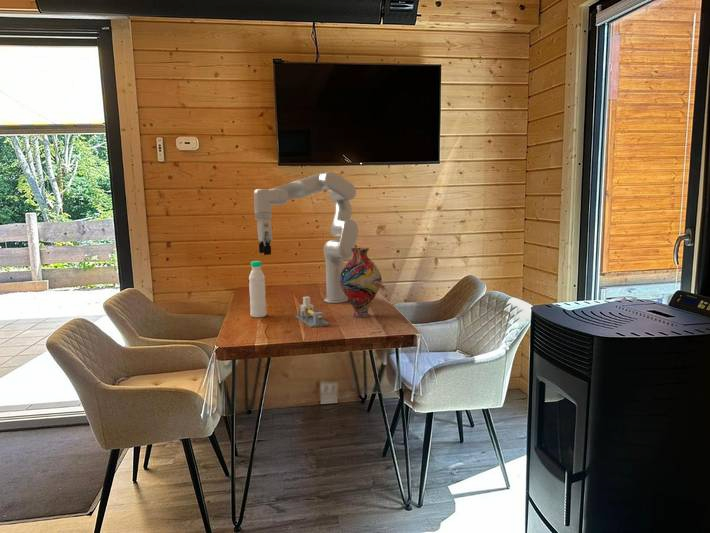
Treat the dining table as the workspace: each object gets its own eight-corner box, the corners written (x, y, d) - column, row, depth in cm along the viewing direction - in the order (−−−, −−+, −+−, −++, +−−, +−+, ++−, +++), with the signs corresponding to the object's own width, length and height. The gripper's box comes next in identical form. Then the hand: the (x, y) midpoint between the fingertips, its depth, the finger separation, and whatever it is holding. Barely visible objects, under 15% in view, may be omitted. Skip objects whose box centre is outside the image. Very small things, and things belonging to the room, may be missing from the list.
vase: (344, 321, 204) (342, 251, 200) (336, 312, 223) (335, 247, 219) (387, 318, 208) (386, 249, 204) (376, 309, 226) (375, 246, 222)
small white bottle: (300, 315, 213) (300, 297, 212) (310, 313, 214) (310, 296, 213) (303, 316, 209) (303, 298, 208) (313, 315, 211) (313, 297, 210)
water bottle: (269, 315, 219) (267, 260, 216) (259, 318, 213) (256, 262, 210) (257, 313, 223) (255, 260, 219) (247, 316, 217) (244, 261, 213)
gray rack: (295, 317, 214) (295, 305, 213) (312, 315, 217) (312, 304, 216) (311, 327, 196) (310, 314, 195) (329, 325, 199) (329, 312, 199)
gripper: (276, 216, 213) (277, 254, 216) (267, 215, 229) (268, 251, 231) (259, 217, 210) (261, 256, 213) (251, 216, 226) (253, 252, 228)
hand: (265, 253), depth 222 cm, fingers open, 9 cm apart
